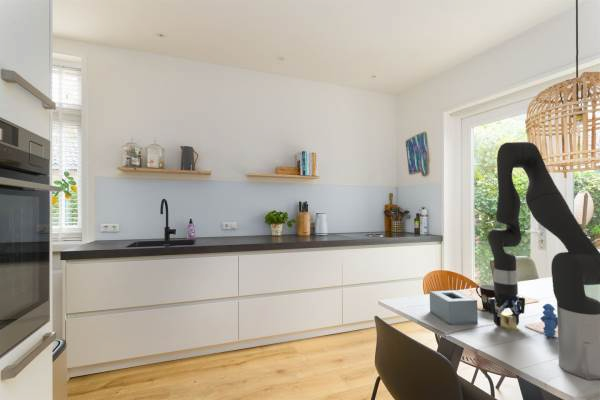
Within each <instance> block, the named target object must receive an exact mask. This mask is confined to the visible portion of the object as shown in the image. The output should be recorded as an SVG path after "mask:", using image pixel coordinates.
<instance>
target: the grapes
mask: <svg viewBox="0 0 600 400" xmlns="http://www.w3.org/2000/svg"><path fill="white" fill-rule="evenodd" d="M542 309H543V311H542V314H543V316H541V317H540V320H541V321H542V323H544V324H543V325H544V326H543V327H542V329H543V333H544V335H545V336H546V337H547V338H553V337H555V335H556V333H557V331H556V329H558V321H557V314H556V313H555V310H556V308H554V305H552V304H550V303H546V304H544V305H543V306H542Z"/></svg>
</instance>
